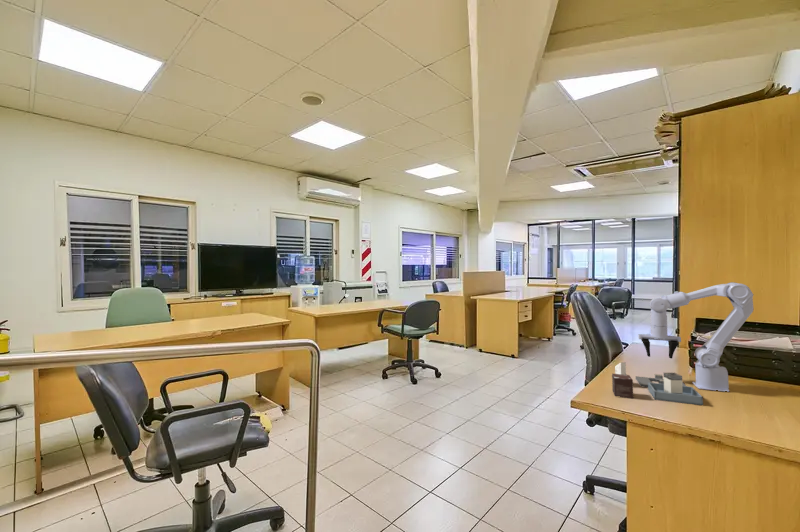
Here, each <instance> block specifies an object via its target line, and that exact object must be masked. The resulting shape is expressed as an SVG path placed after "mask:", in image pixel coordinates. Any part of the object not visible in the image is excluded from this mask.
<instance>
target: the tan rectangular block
mask: <svg viewBox="0 0 800 532" xmlns="http://www.w3.org/2000/svg"><path fill="white" fill-rule="evenodd" d="M663 379H664V392H665V393H674V394H683V388H682V382H683V375H680V374H678V373H676V372H663Z"/></svg>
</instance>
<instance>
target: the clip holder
mask: <svg viewBox="0 0 800 532" xmlns="http://www.w3.org/2000/svg"><path fill="white" fill-rule="evenodd" d="M635 380H636V382H637V383H638V385H639V386H640V387H642V388H648V382H650V383H653V382H658V383H659V384H664V375H663V374H658V373H655V374H654V377H646V376H639V375H638V376H635ZM682 386H687V385H686V384H685V383H684V382H683V381H682Z"/></svg>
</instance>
